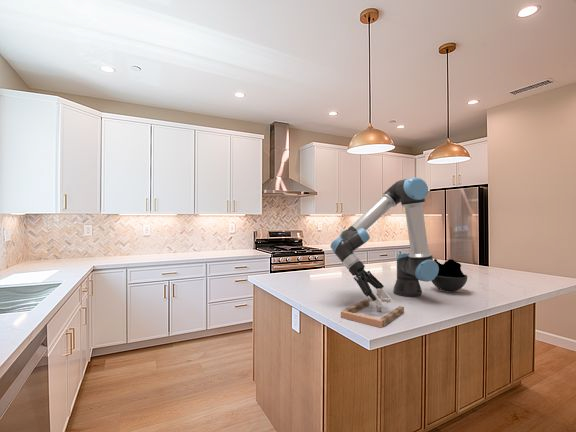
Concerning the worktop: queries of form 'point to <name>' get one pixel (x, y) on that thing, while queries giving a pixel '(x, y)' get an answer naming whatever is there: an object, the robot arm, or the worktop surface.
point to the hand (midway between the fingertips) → (385, 303)
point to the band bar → (362, 319)
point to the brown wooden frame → (386, 318)
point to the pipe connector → (380, 298)
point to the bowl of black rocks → (449, 276)
